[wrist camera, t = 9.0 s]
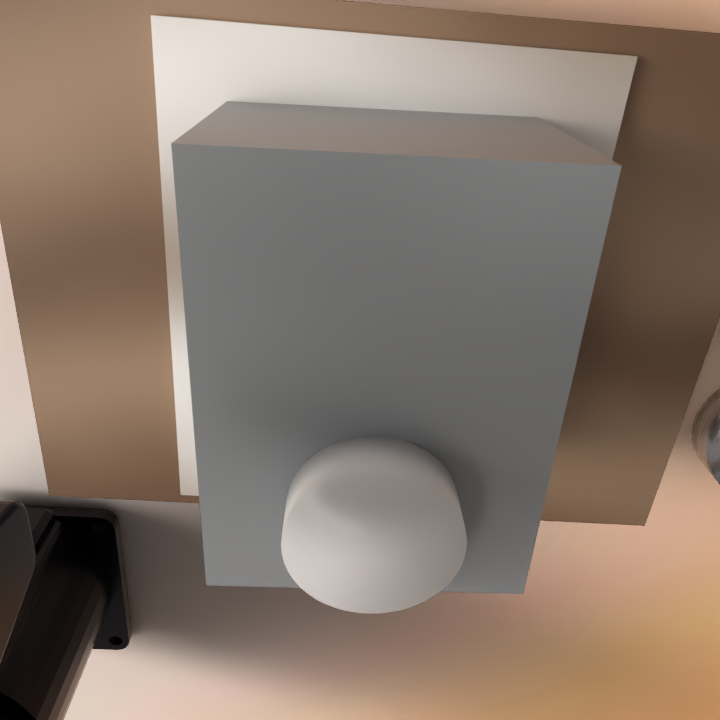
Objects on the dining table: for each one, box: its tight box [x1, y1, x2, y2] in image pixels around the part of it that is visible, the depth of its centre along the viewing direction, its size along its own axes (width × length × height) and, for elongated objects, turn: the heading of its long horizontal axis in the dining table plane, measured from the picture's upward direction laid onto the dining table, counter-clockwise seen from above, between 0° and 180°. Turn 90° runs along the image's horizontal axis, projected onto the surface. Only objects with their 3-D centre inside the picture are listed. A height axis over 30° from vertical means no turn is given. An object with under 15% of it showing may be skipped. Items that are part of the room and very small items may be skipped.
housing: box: [171, 101, 622, 614], centre depth 12 cm, size 6×8×6 cm
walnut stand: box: [0, 0, 720, 526], centre depth 17 cm, size 12×16×4 cm
